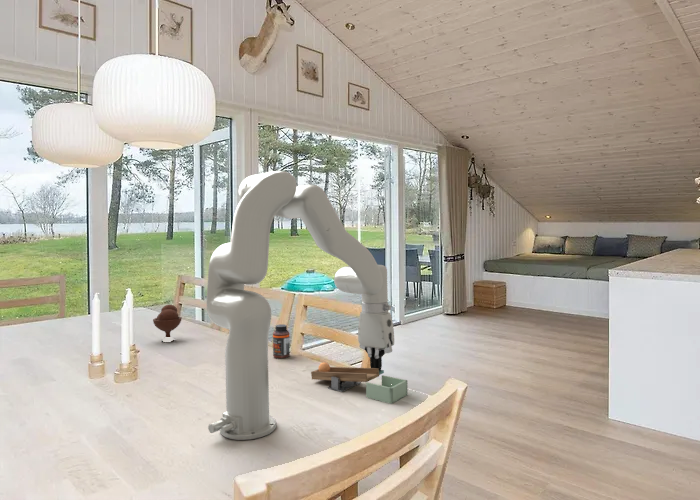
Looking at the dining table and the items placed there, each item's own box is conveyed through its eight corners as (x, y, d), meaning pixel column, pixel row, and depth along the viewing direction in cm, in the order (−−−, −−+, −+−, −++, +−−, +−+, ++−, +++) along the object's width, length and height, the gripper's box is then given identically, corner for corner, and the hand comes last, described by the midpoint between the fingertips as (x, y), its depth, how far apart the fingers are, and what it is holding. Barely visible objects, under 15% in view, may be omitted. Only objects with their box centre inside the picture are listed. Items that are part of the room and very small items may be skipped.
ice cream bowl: (152, 339, 197) (151, 304, 196) (181, 337, 202) (180, 302, 201) (154, 345, 188) (152, 308, 187) (183, 342, 192) (182, 305, 192)
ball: (325, 376, 138) (324, 364, 138) (316, 374, 141) (315, 363, 140) (332, 373, 141) (332, 362, 141) (323, 371, 143) (323, 360, 143)
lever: (366, 382, 128) (365, 374, 128) (311, 379, 140) (311, 371, 140) (386, 372, 136) (385, 365, 136) (333, 371, 148) (332, 364, 148)
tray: (391, 403, 122) (391, 388, 122) (366, 397, 127) (366, 382, 127) (407, 394, 128) (407, 380, 128) (382, 389, 133) (382, 375, 133)
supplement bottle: (269, 357, 168) (269, 326, 167) (279, 353, 173) (279, 323, 172) (283, 359, 165) (282, 327, 164) (293, 355, 170) (292, 324, 170)
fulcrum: (341, 392, 131) (341, 379, 131) (327, 388, 134) (327, 376, 134) (361, 383, 139) (360, 371, 138) (347, 380, 142) (347, 368, 141)
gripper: (403, 308, 134) (405, 371, 135) (361, 303, 143) (362, 363, 144) (389, 312, 128) (391, 378, 129) (346, 307, 137) (347, 369, 138)
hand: (376, 370), depth 136 cm, fingers closed
